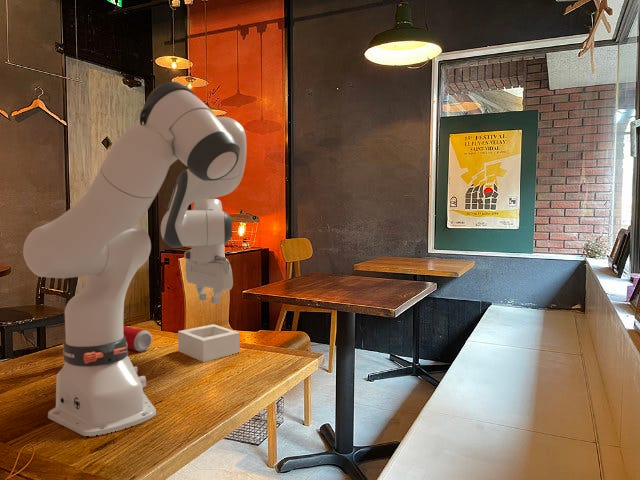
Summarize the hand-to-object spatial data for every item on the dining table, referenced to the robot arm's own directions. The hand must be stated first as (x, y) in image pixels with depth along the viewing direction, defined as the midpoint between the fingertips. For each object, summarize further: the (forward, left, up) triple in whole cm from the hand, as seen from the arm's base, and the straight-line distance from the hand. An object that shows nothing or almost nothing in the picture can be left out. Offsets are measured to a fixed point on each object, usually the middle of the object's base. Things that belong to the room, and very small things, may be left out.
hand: (209, 301), depth 136 cm
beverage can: (+13, +13, -12) cm, 22 cm away
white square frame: (0, 0, -15) cm, 15 cm away
